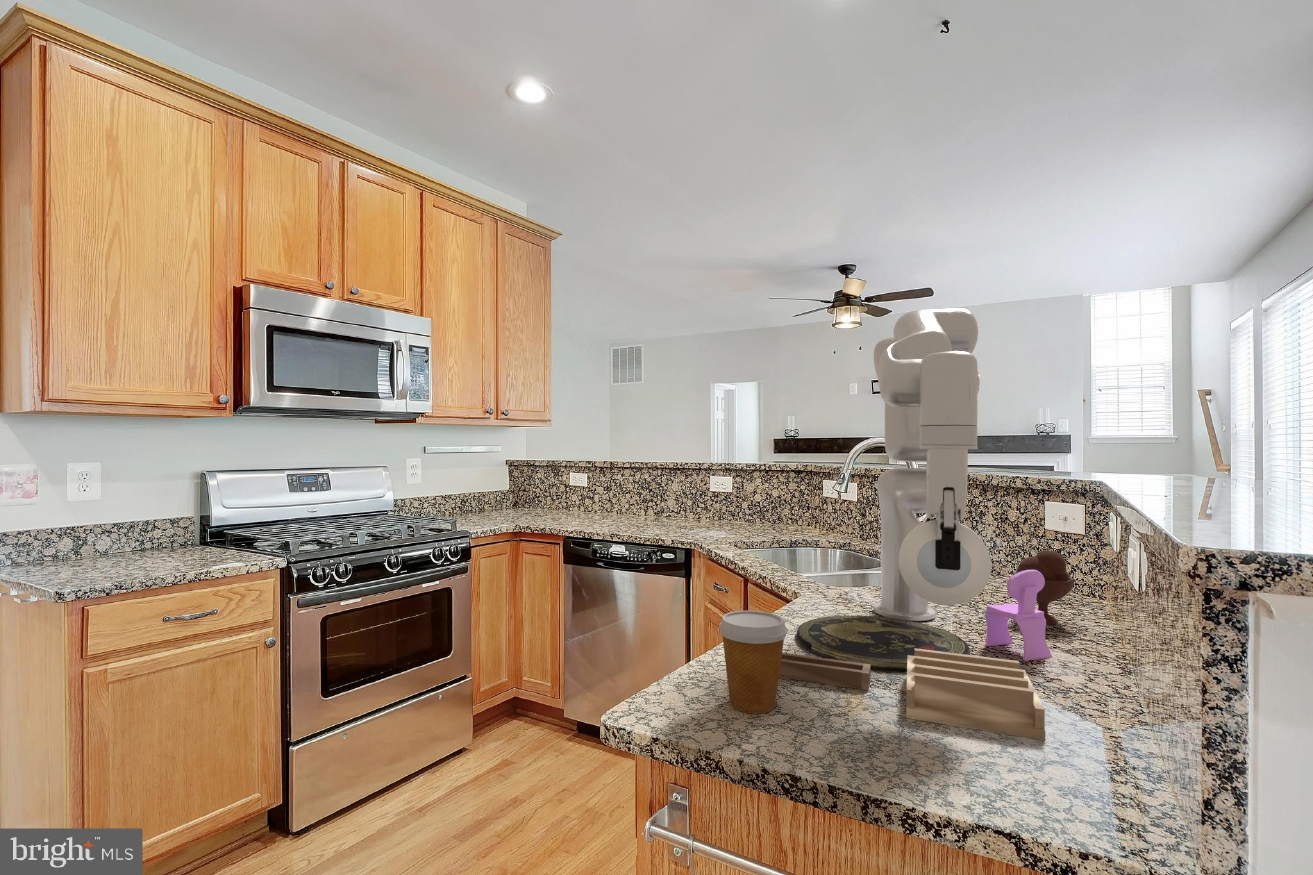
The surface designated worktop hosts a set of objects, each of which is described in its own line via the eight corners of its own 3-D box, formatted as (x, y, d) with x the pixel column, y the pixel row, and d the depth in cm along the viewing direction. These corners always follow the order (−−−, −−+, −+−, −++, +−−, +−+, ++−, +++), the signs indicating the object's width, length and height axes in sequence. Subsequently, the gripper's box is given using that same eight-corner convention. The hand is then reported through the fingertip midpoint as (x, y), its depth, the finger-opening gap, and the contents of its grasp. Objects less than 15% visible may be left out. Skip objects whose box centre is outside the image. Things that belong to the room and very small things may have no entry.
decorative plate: (1010, 651, 107) (869, 672, 96) (1010, 662, 107) (869, 685, 96) (886, 609, 134) (765, 622, 124) (886, 618, 134) (765, 631, 123)
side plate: (882, 566, 94) (931, 502, 91) (955, 620, 90) (1009, 554, 87) (881, 568, 92) (931, 503, 89) (955, 623, 88) (1010, 556, 85)
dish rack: (907, 677, 98) (907, 644, 98) (1024, 693, 92) (1024, 658, 92) (906, 717, 83) (906, 678, 84) (1045, 740, 77) (1045, 698, 77)
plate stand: (771, 666, 103) (771, 651, 103) (870, 680, 97) (870, 664, 97) (765, 674, 99) (766, 659, 99) (868, 690, 93) (868, 673, 93)
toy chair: (1013, 641, 117) (1013, 561, 117) (1056, 656, 109) (1057, 570, 109) (978, 645, 115) (979, 563, 115) (1020, 661, 106) (1020, 573, 106)
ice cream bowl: (1060, 615, 135) (1060, 546, 135) (1083, 630, 124) (1083, 555, 124) (1006, 612, 138) (1006, 544, 138) (1024, 626, 127) (1024, 552, 127)
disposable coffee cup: (800, 704, 87) (800, 618, 88) (760, 726, 81) (761, 633, 81) (745, 685, 94) (745, 606, 94) (704, 704, 87) (705, 618, 88)
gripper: (920, 439, 98) (919, 556, 98) (918, 438, 84) (918, 575, 84) (973, 439, 95) (973, 560, 95) (981, 438, 81) (981, 581, 81)
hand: (947, 566), depth 89 cm, fingers closed on side plate, 1 cm apart
